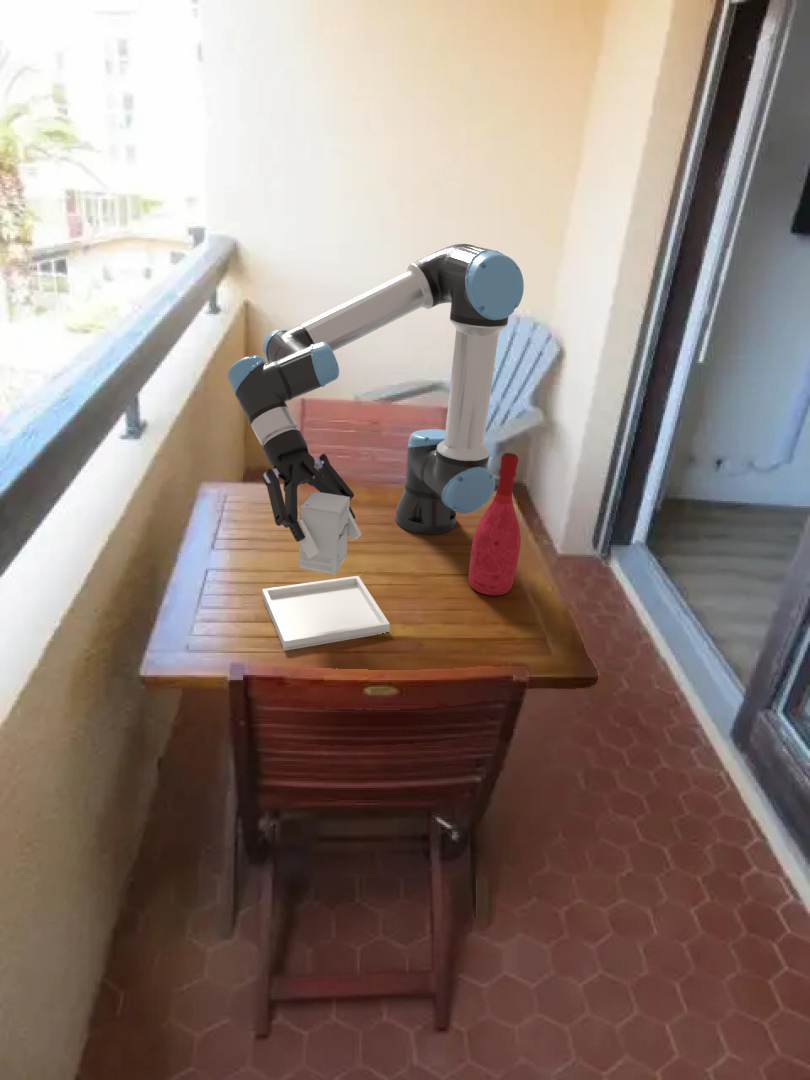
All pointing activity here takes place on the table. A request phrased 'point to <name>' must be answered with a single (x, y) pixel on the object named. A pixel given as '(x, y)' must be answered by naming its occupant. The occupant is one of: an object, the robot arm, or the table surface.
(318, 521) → the supplement box
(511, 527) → the wine bottle
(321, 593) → the white tray
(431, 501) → the robot arm
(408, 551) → the table surface
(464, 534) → the table surface
